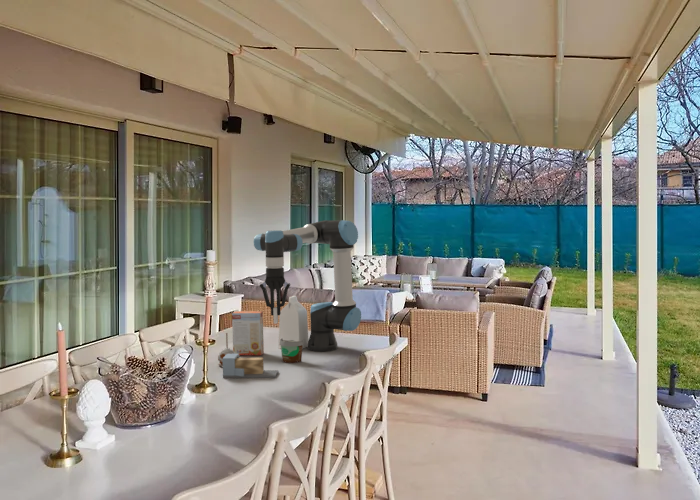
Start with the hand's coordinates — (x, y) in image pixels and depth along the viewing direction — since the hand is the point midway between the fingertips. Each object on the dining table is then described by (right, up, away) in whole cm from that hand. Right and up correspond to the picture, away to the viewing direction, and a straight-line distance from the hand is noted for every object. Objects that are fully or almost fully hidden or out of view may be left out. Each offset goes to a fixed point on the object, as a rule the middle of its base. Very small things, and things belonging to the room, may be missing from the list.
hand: (275, 322), depth 258 cm
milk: (+2, -19, +55) cm, 59 cm away
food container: (+3, -21, +24) cm, 32 cm away
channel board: (-11, -22, +2) cm, 25 cm away
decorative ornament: (-24, -22, +18) cm, 37 cm away
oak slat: (-13, -21, +2) cm, 25 cm away
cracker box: (-18, -20, +40) cm, 49 cm away
